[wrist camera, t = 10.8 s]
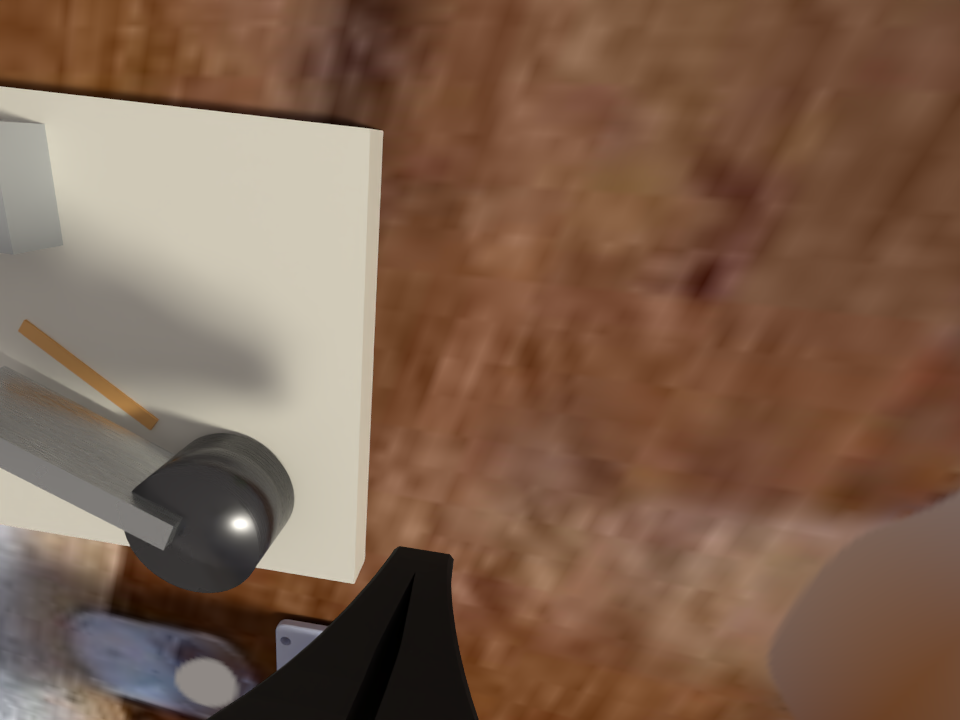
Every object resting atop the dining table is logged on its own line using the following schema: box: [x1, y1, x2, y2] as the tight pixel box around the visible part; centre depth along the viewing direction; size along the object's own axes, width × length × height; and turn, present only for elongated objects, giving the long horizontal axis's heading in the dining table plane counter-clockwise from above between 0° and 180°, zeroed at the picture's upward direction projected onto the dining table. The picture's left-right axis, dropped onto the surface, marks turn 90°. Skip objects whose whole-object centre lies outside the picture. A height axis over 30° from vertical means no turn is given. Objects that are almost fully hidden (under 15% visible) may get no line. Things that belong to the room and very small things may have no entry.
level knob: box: [0, 366, 294, 593], centre depth 21 cm, size 12×5×4 cm, turn 61°
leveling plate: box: [0, 86, 383, 584], centre depth 21 cm, size 18×18×4 cm
